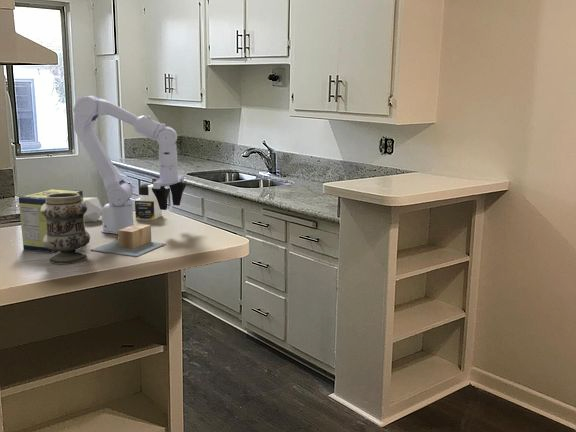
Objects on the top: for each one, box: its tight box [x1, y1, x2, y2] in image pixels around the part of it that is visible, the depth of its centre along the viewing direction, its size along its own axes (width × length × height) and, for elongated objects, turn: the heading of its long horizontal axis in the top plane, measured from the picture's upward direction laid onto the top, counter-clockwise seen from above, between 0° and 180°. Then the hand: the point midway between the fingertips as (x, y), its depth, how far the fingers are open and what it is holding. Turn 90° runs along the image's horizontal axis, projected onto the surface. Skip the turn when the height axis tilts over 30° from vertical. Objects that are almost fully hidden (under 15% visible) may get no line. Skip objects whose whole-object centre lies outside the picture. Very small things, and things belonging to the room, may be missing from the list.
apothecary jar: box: [41, 192, 91, 265], centre depth 161 cm, size 12×12×18 cm
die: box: [83, 197, 103, 223], centre depth 207 cm, size 8×9×10 cm
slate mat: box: [90, 239, 167, 258], centre depth 174 cm, size 16×14×1 cm
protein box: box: [18, 188, 86, 253], centre depth 176 cm, size 10×16×16 cm
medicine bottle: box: [134, 183, 163, 221], centre depth 211 cm, size 7×7×12 cm
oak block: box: [117, 223, 152, 249], centre depth 177 cm, size 5×5×9 cm
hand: (170, 207), depth 192 cm, fingers open, 7 cm apart
